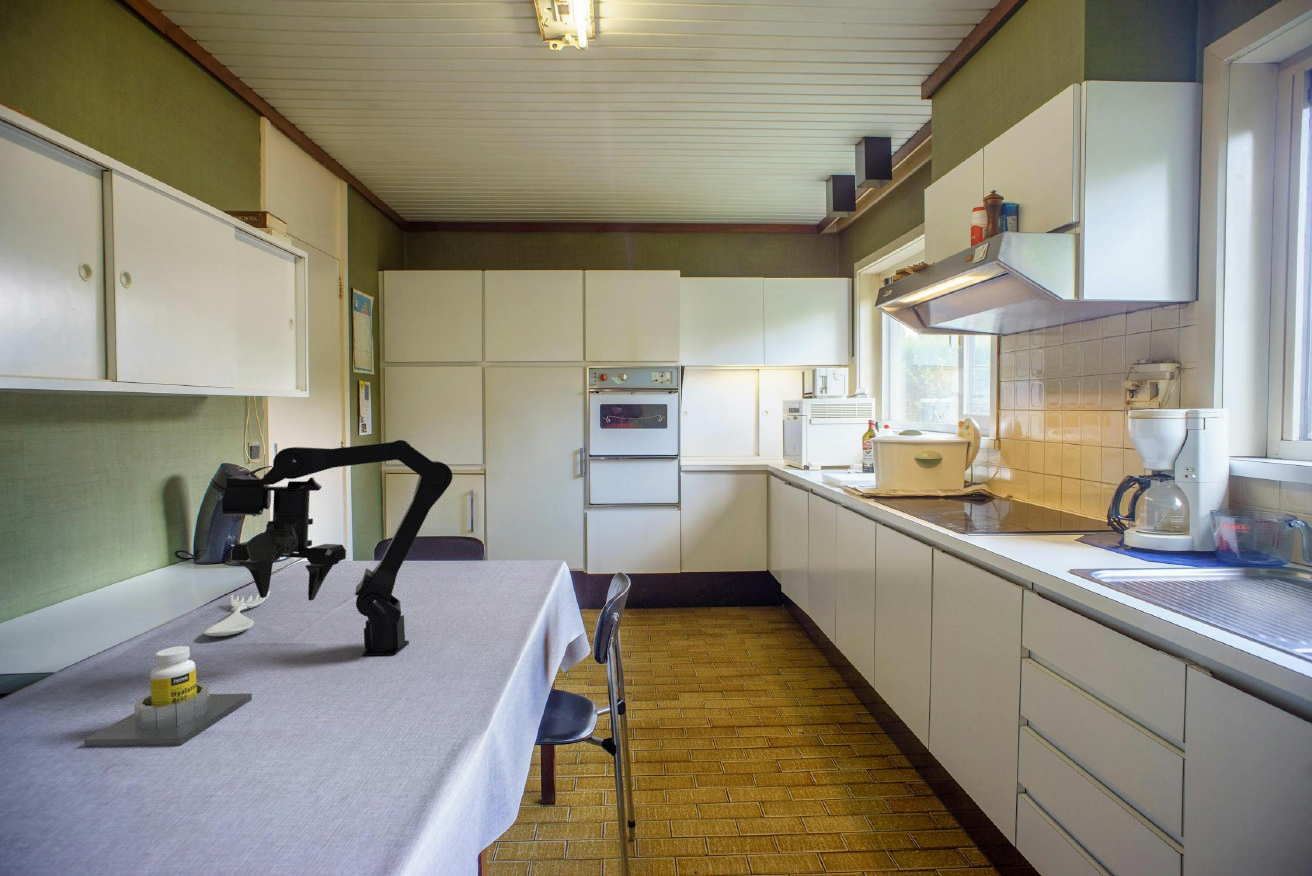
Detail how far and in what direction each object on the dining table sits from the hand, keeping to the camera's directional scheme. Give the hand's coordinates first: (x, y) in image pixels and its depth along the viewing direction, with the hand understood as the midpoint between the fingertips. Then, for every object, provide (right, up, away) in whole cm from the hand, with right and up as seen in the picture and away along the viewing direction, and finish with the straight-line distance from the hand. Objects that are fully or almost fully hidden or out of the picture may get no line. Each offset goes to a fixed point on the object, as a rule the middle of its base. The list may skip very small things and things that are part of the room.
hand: (287, 598), depth 112 cm
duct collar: (-5, -13, -20) cm, 25 cm away
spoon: (-30, -14, +30) cm, 44 cm away
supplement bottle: (-5, -12, -20) cm, 24 cm away
